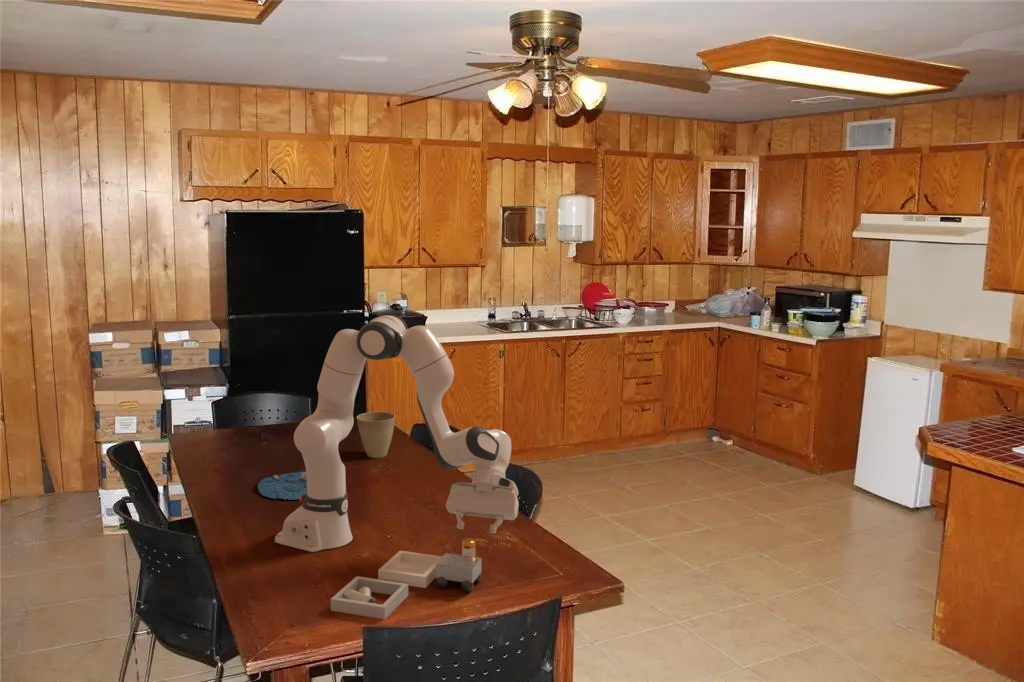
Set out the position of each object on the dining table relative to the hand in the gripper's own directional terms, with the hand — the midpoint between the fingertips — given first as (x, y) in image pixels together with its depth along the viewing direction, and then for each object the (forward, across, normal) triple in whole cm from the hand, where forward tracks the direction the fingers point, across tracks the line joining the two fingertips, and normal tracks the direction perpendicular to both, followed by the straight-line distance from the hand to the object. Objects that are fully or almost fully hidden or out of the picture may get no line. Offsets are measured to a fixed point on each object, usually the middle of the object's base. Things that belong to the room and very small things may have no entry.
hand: (475, 530), depth 229 cm
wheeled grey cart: (+14, 0, 0) cm, 14 cm away
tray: (+15, -14, -1) cm, 20 cm away
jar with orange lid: (+11, 0, +3) cm, 11 cm away
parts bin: (+28, -17, -14) cm, 35 cm away
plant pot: (-53, -72, +67) cm, 112 cm away
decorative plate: (-23, -80, +38) cm, 91 cm away
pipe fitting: (+29, -18, -14) cm, 37 cm away
